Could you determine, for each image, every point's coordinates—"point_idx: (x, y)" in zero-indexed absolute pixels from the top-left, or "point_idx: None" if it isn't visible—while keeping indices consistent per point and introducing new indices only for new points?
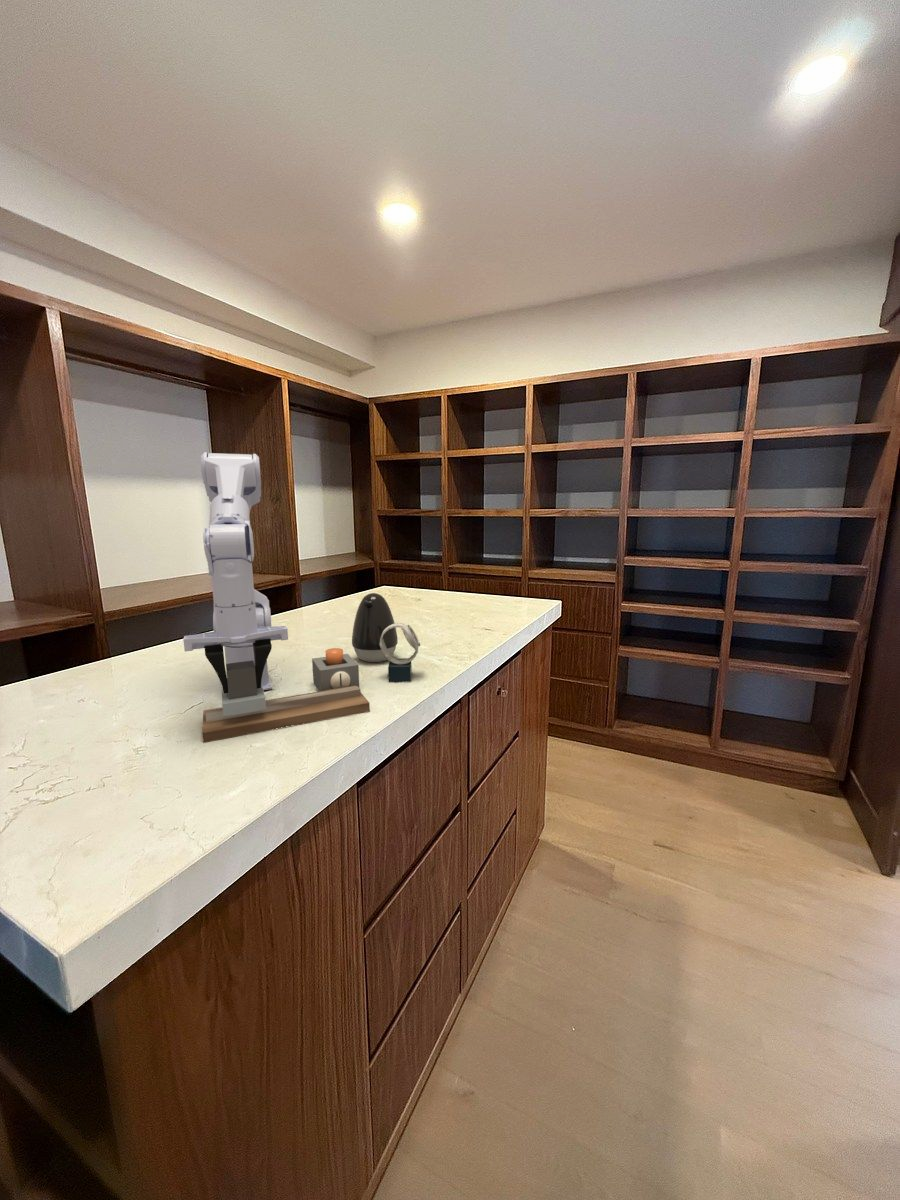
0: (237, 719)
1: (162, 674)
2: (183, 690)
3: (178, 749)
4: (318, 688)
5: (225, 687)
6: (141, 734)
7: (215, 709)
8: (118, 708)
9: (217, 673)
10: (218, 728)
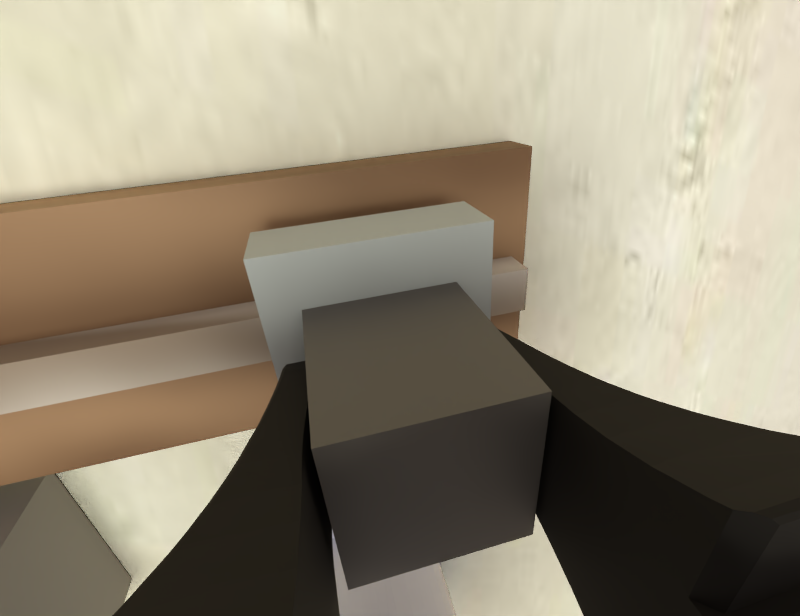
0: None
1: (575, 608)
2: (540, 535)
3: (590, 112)
4: (76, 526)
5: None
6: (666, 283)
7: None
8: None
9: (603, 382)
10: (469, 173)
